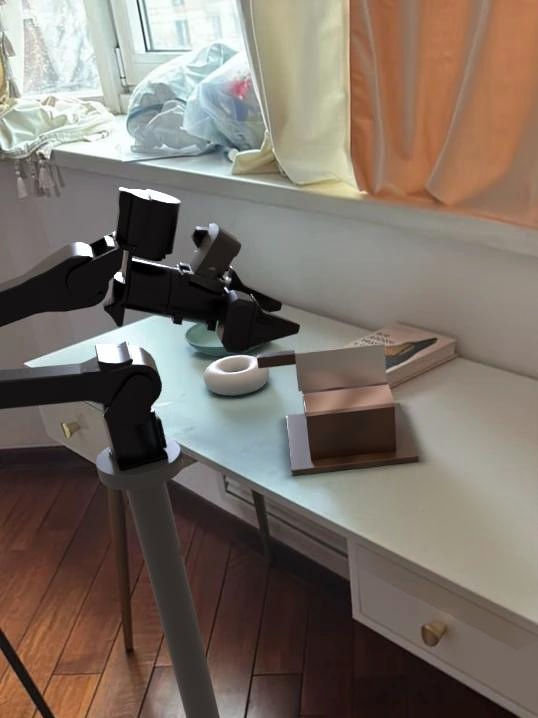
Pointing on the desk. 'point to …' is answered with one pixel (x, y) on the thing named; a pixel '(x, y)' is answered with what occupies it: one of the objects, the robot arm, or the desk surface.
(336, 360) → the knife
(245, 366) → the donut
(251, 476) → the desk surface
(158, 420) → the robot arm
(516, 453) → the desk surface
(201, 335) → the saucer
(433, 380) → the desk surface
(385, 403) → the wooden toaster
